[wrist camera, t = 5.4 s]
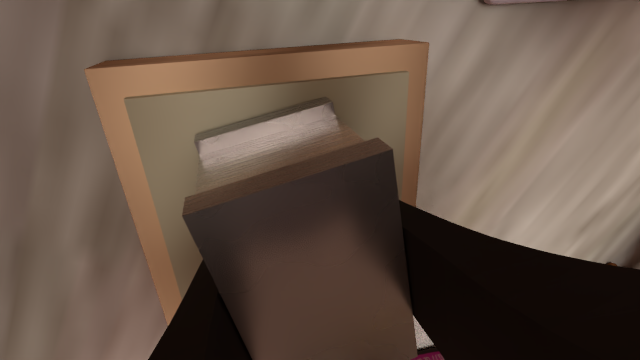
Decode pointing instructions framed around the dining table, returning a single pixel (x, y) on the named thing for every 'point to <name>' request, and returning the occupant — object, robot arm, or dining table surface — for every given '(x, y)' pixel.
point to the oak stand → (237, 105)
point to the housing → (304, 236)
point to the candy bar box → (429, 355)
